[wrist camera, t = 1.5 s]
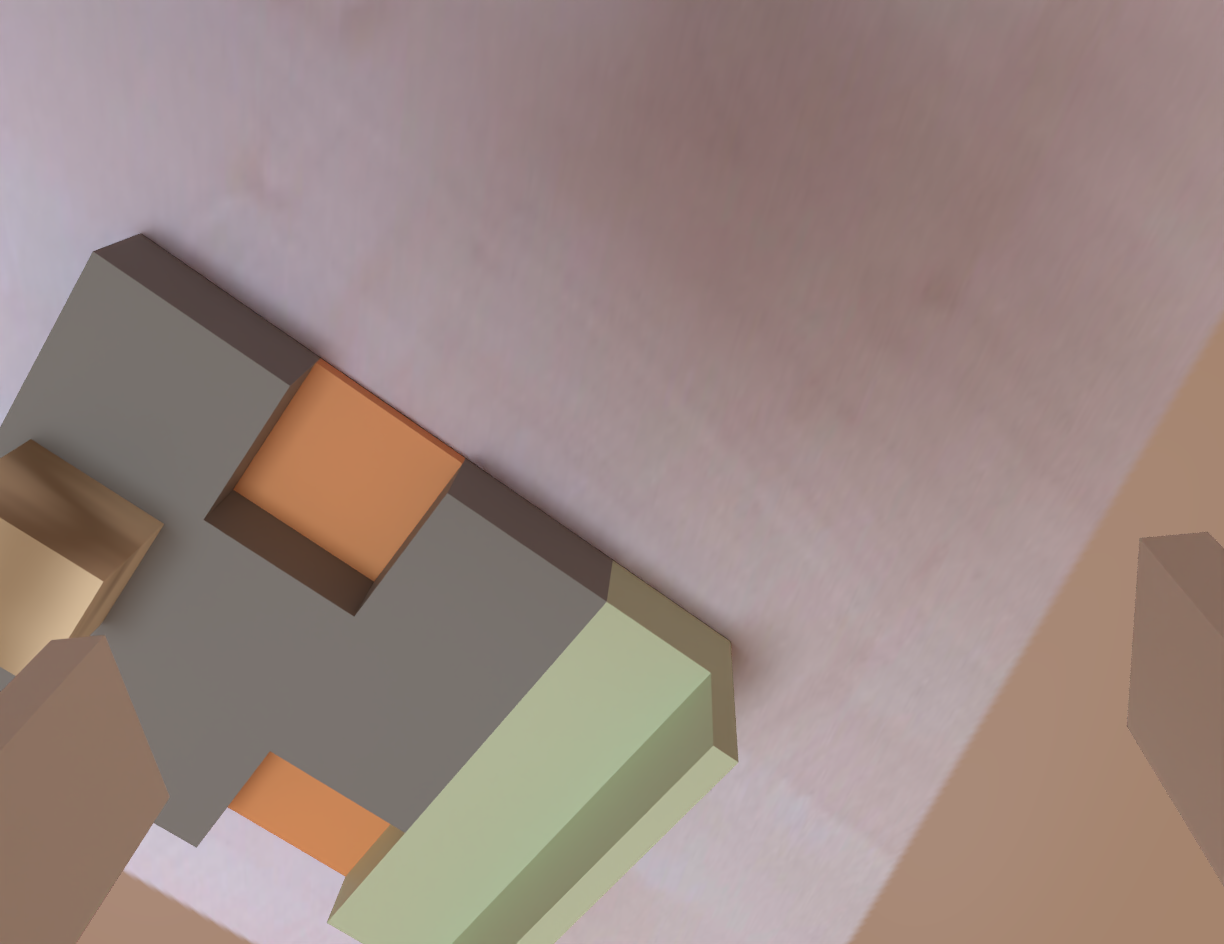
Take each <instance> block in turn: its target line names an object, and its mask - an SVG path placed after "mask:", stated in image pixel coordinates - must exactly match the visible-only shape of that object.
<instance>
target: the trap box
mask: <svg viewBox="0 0 1224 944" xmlns="http://www.w3.org/2000/svg"><path fill="white" fill-rule="evenodd" d="M30 439H32V440H33V441H35V442H36V443H38V444H39V445H41V446H43V447H44V448H46V449H47V450H49V451H50V452H52V453H53V454H55V455H57V456H58V457H60V458H61V459H63V460H64V461H66V462H68V463H69V464H71V465H72V466H74V467H75V468H77V469H79V470H80V471H82V472H83V473H85V474H86V475H88V476H90V477H91V478H93V479H94V480H96V481H97V482H99V483H101V484H102V485H104V486H105V487H107V488H108V489H110V490H112V491H113V492H115V493H116V494H118V495H119V496H121V497H122V498H124V499H126V500H127V501H129V502H130V503H132V504H133V505H135V506H137V507H138V508H140V509H141V510H143V511H144V512H146V513H148V514H149V515H151V516H152V517H154V518H155V519H157V520H159V521H160V522H162V523H163V524H164V525H163V527H162V528H161V530H160V532H159V533H158V535H157V536H156V538H155V539H154V541H153V543H152V544H151V546H150V547H149V549H148V551H147V552H146V554H145V555H144V557H143V559H142V560H141V562H140V563H139V565H138V566H137V568H136V570H135V571H134V573H133V574H132V576H131V578H130V579H129V581H128V582H127V584H126V586H125V587H124V589H123V590H122V592H121V593H120V595H119V597H118V598H117V600H116V601H115V603H114V605H113V606H112V608H111V609H110V611H109V613H108V614H107V616H106V617H105V619H104V620H103V622H102V624H101V625H100V626H99V627H98V628H97V629H96V630H95V631H94V632H93V633H92V634H91V635H90V636H99V635H105V637H106V639H107V642H108V644H109V647H110V649H111V652H112V654H113V657H114V659H115V662H116V664H117V667H118V669H119V672H120V674H121V677H122V679H123V682H124V684H125V687H126V689H127V692H128V694H129V697H130V699H131V702H132V704H133V707H134V709H135V712H136V714H137V716H138V719H139V721H140V724H141V726H142V729H143V731H144V734H145V736H146V739H147V741H148V744H149V746H150V749H151V751H152V754H153V756H154V759H155V761H156V764H157V766H158V769H159V771H160V774H161V776H162V779H163V781H164V784H165V786H166V789H167V791H168V794H169V796H170V797H169V799H168V801H167V802H166V804H165V805H164V807H163V808H162V810H161V812H160V813H159V815H158V816H157V818H156V819H155V821H154V823H155V824H157V825H158V826H160V827H162V828H164V829H165V830H167V831H169V832H170V833H172V834H174V835H176V836H177V837H179V838H181V839H183V840H184V841H186V842H188V843H190V844H191V845H193V846H195V847H196V848H197V846H198V845H199V844H200V842H201V841H202V840H203V838H204V837H205V836H206V834H207V833H208V832H209V830H210V829H211V828H212V827H213V825H214V824H215V823H216V821H217V820H218V819H219V817H220V816H221V815H222V813H223V812H224V811H225V809H226V808H227V807H228V808H230V809H232V810H234V811H235V812H237V813H239V814H240V815H242V816H244V817H245V818H247V819H249V820H250V821H252V822H254V823H256V824H257V825H259V826H261V827H262V828H264V829H266V830H267V831H269V832H271V833H273V834H274V835H276V836H278V837H279V838H281V839H283V840H284V841H286V842H288V843H290V844H291V845H293V846H295V847H296V848H298V849H300V850H301V851H303V852H305V853H307V854H308V855H310V856H312V857H313V858H315V859H317V860H318V861H320V862H322V863H323V864H325V865H327V866H329V867H330V868H332V869H334V870H335V871H337V872H339V873H340V874H342V875H344V876H346V877H345V879H344V882H343V884H342V887H341V889H340V892H339V894H338V896H337V899H336V901H335V904H334V906H333V909H332V911H331V914H330V916H329V919H328V921H327V923H328V924H330V925H332V926H333V927H335V928H337V929H338V930H340V931H342V932H344V933H345V934H347V935H349V936H351V937H352V938H354V939H356V940H358V941H359V942H361V943H363V944H554V943H555V942H556V941H557V940H558V939H559V938H560V937H561V936H562V935H563V934H564V933H565V932H566V931H567V930H568V929H569V928H570V927H571V926H572V925H573V924H574V923H575V922H576V921H577V920H578V919H579V918H580V917H581V916H583V915H584V914H585V913H586V912H587V911H588V910H589V909H590V908H591V907H592V906H593V905H594V904H595V903H596V902H597V901H598V900H599V899H600V898H601V897H602V896H603V895H604V894H605V893H606V892H607V891H608V890H609V889H610V888H611V887H612V886H613V885H614V884H615V883H616V882H617V881H618V880H619V879H620V878H621V877H622V876H623V875H624V874H625V873H626V872H627V871H628V870H629V869H630V868H631V867H632V866H633V865H634V864H635V863H636V862H637V861H638V860H639V859H641V858H642V857H643V856H644V855H645V854H646V853H647V852H648V851H649V850H650V849H651V848H652V847H653V846H654V845H655V844H656V843H657V842H658V841H659V840H660V839H661V838H662V837H663V836H664V835H665V834H666V833H667V832H668V831H669V830H670V829H671V828H672V827H673V826H674V825H675V824H676V823H677V822H678V821H679V820H680V819H681V818H682V817H683V816H684V815H685V814H686V813H687V812H688V811H689V810H690V809H691V808H692V807H693V806H694V805H695V804H696V803H698V802H699V801H700V800H701V799H702V798H703V797H704V796H705V795H706V794H707V793H708V792H709V791H710V790H711V789H712V788H713V787H714V786H715V785H716V784H717V783H718V782H719V781H720V780H721V779H722V778H723V777H724V776H725V775H726V774H727V773H728V772H729V771H730V770H731V769H732V768H733V767H734V766H735V765H736V764H737V763H738V749H737V734H736V718H735V703H734V687H733V672H732V656H731V642H730V641H729V640H727V639H726V638H724V637H723V636H721V635H720V634H719V633H717V632H716V631H714V630H713V629H711V628H710V627H708V626H707V625H706V624H704V623H703V622H701V621H700V620H698V619H697V618H695V617H694V616H693V615H691V614H690V613H688V612H687V611H685V610H684V609H682V608H681V607H680V606H678V605H677V604H675V603H674V602H672V601H671V600H669V599H668V598H667V597H665V596H664V595H662V594H661V593H659V592H658V591H656V590H655V589H654V588H652V587H651V586H649V585H648V584H646V583H645V582H643V581H642V580H641V579H639V578H638V577H636V576H635V575H633V574H632V573H630V572H629V571H628V570H626V569H625V568H623V567H622V566H620V565H619V564H617V563H616V562H615V561H613V560H612V559H610V558H609V557H607V556H606V555H604V554H603V553H602V552H600V551H599V550H597V549H596V548H594V547H593V546H591V545H590V544H589V543H587V542H586V541H584V540H583V539H581V538H580V537H578V536H577V535H576V534H574V533H573V532H571V531H570V530H568V529H567V528H565V527H564V526H563V525H561V524H560V523H558V522H557V521H555V520H554V519H552V518H551V517H549V516H548V515H547V514H545V513H544V512H542V511H541V510H539V509H538V508H536V507H535V506H534V505H532V504H531V503H529V502H528V501H526V500H525V499H523V498H522V497H521V496H519V495H518V494H516V493H515V492H513V491H512V490H510V489H509V488H508V487H506V486H505V485H503V484H502V483H500V482H499V481H497V480H496V479H495V478H493V477H492V476H490V475H489V474H487V473H486V472H484V471H483V470H482V469H480V468H479V467H477V466H476V465H474V464H473V463H471V462H470V461H469V460H467V459H466V458H464V457H463V456H461V455H460V454H458V453H457V452H456V451H454V450H453V449H451V448H450V447H448V446H447V445H445V444H444V443H443V442H441V441H440V440H438V439H437V438H435V437H434V436H432V435H431V434H430V433H428V432H427V431H425V430H424V429H422V428H421V427H419V426H418V425H417V424H415V423H414V422H412V421H411V420H409V419H408V418H406V417H405V416H404V415H402V414H401V413H399V412H398V411H396V410H395V409H393V408H392V407H390V406H389V405H388V404H386V403H385V402H383V401H382V400H380V399H379V398H377V397H376V396H375V395H373V394H372V393H370V392H369V391H367V390H366V389H364V388H363V387H362V386H360V385H359V384H357V383H356V382H354V381H353V380H351V379H350V378H349V377H347V376H346V375H344V374H343V373H341V372H340V371H338V370H337V369H336V368H334V367H333V366H331V365H330V364H328V363H327V362H325V361H324V360H323V359H321V358H320V357H318V356H317V355H315V354H314V353H312V352H311V351H310V350H308V349H307V348H305V347H304V346H302V345H301V344H299V343H298V342H297V341H295V340H294V339H292V338H291V337H289V336H288V335H286V334H285V333H284V332H282V331H281V330H279V329H278V328H276V327H275V326H273V325H272V324H271V323H269V322H268V321H266V320H265V319H263V318H262V317H260V316H259V315H258V314H256V313H255V312H253V311H252V310H250V309H249V308H247V307H246V306H245V305H243V304H242V303H240V302H239V301H237V300H236V299H234V298H233V297H232V296H230V295H229V294H227V293H226V292H224V291H223V290H221V289H220V288H218V287H217V286H216V285H214V284H213V283H211V282H210V281H208V280H207V279H205V278H204V277H203V276H201V275H200V274H198V273H197V272H195V271H194V270H192V269H191V268H190V267H188V266H187V265H185V264H184V263H182V262H181V261H179V260H178V259H177V258H175V257H174V256H172V255H171V254H169V253H168V252H166V251H165V250H164V249H162V248H161V247H159V246H158V245H156V244H155V243H153V242H152V241H151V240H149V239H148V238H146V237H145V236H143V235H142V234H138V235H135V236H132V237H130V238H127V239H124V240H122V241H119V242H117V243H114V244H111V245H109V246H106V247H103V248H101V249H98V250H96V251H93V252H92V254H91V256H90V258H89V260H88V262H87V264H86V266H85V268H84V269H83V271H82V273H81V275H80V277H79V279H78V281H77V283H76V285H75V287H74V288H73V290H72V292H71V294H70V296H69V298H68V300H67V302H66V304H65V306H64V307H63V309H62V311H61V313H60V315H59V317H58V319H57V321H56V323H55V325H54V326H53V328H52V330H51V332H50V334H49V336H48V338H47V340H46V342H45V343H44V345H43V347H42V349H41V351H40V353H39V355H38V357H37V359H36V361H35V362H34V364H33V366H32V368H31V370H30V372H29V374H28V376H27V378H26V380H25V381H24V383H23V385H22V387H21V389H20V391H19V393H18V395H17V397H16V398H15V400H14V402H13V404H12V406H11V408H10V410H9V412H8V414H7V416H6V417H5V419H4V421H3V423H2V425H1V427H0V458H2V457H3V456H5V455H6V454H8V453H9V452H11V451H13V450H14V449H16V448H17V447H19V446H21V445H22V444H24V443H25V442H27V441H29V440H30ZM15 677H16V676H15V675H13V674H12V673H10V672H8V671H7V670H5V669H3V668H1V667H0V692H1V691H2V690H3V689H4V688H5V687H6V686H7V685H8V684H9V683H10V682H11V681H12V680H13V679H14V678H15Z"/></svg>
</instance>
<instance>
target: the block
mask: <svg viewBox="0 0 1224 944" xmlns="http://www.w3.org/2000/svg"><path fill="white" fill-rule="evenodd" d="M163 525H164V524H163V523H162V522H160V521H159V520H157V519H155V518H154V517H152V516H151V515H149V514H148V513H146V512H144V511H143V510H141V509H140V508H138V507H137V506H135V505H133V504H132V503H130V502H129V501H127V500H126V499H124V498H122V497H121V496H119V495H118V494H116V493H115V492H113V491H112V490H110V489H108V488H107V487H105V486H104V485H102V484H101V483H99V482H97V481H96V480H94V479H93V478H91V477H90V476H88V475H86V474H85V473H83V472H82V471H80V470H79V469H77V468H75V467H74V466H72V465H71V464H69V463H68V462H66V461H64V460H63V459H61V458H60V457H58V456H57V455H55V454H53V453H52V452H50V451H49V450H47V449H46V448H44V447H43V446H41V445H39V444H38V443H36V442H35V441H33V440H32V439H30V440H29V441H27V442H25V443H24V444H22V445H21V446H19V447H17V448H16V449H14V450H13V451H11V452H9V453H8V454H6V455H5V456H3V457H2V458H0V667H1V668H3V669H5V670H7V671H8V672H10V673H12V674H13V675H15V676H17V675H18V674H19V673H20V672H21V671H22V670H23V668H24V667H25V666H26V665H27V664H28V663H29V662H30V661H31V660H32V659H33V658H34V657H35V656H36V655H37V654H38V653H39V652H40V651H41V650H42V649H43V648H44V647H45V646H46V645H47V644H48V643H49V642H50V641H51V640H57V639H67V638H78V637H89V636H90V635H91V634H92V633H93V632H94V631H95V630H96V629H97V628H98V627H99V626H100V625H101V624H102V622H103V620H104V619H105V617H106V616H107V614H108V613H109V611H110V609H111V608H112V606H113V605H114V603H115V601H116V600H117V598H118V597H119V595H120V593H121V592H122V590H123V589H124V587H125V586H126V584H127V582H128V581H129V579H130V578H131V576H132V574H133V573H134V571H135V570H136V568H137V566H138V565H139V563H140V562H141V560H142V559H143V557H144V555H145V554H146V552H147V551H148V549H149V547H150V546H151V544H152V543H153V541H154V539H155V538H156V536H157V535H158V533H159V532H160V530H161V528H162V527H163Z"/></svg>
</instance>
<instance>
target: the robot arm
mask: <svg viewBox="0 0 1224 944" xmlns="http://www.w3.org/2000/svg"><path fill="white" fill-rule="evenodd" d="M1133 629H1134V630H1133V643H1132V644H1133V645H1132V658H1131V673H1130V674H1131V675H1130V688H1129V703H1128V717H1127V727H1128V729H1129V730H1130V732H1131V734H1132V735H1133V737H1134V739H1135V740H1136V742H1137V744H1138V745H1139V747H1140V748H1141V750H1142V752H1143V754H1144V755H1145V757H1146V759H1147V760H1148V762H1149V764H1150V765H1151V767H1152V769H1153V770H1154V772H1155V773H1156V775H1157V777H1158V778H1159V780H1160V782H1161V783H1162V785H1163V787H1164V788H1165V790H1166V792H1167V793H1168V795H1169V797H1170V798H1171V800H1172V801H1173V803H1174V805H1175V807H1176V808H1177V810H1178V811H1179V813H1180V815H1181V816H1182V818H1183V820H1184V821H1185V823H1186V825H1187V826H1188V828H1189V830H1190V831H1191V833H1192V835H1193V836H1194V838H1195V840H1196V841H1197V843H1198V845H1199V846H1200V848H1201V849H1202V851H1203V853H1204V855H1205V856H1206V858H1207V860H1208V861H1209V863H1210V865H1211V866H1212V868H1213V869H1214V871H1215V873H1216V874H1217V876H1218V878H1219V879H1220V881H1221V883H1222V884H1223V886H1224V548H1223V547H1222V546H1221V545H1220V544H1219V543H1218V542H1217V541H1216V540H1215V539H1214V538H1213V537H1212V536H1211V535H1210V534H1209V533H1208V532H1200V533H1190V534H1179V535H1168V536H1158V537H1147V538H1140V540H1139V554H1138V571H1137V585H1136V599H1135V614H1134V628H1133ZM169 797H170V796H169V794H168V791H167V789H166V786H165V784H164V781H163V779H162V776H161V774H160V771H159V769H158V766H157V764H156V761H155V759H154V756H153V754H152V751H151V749H150V746H149V744H148V741H147V739H146V736H145V734H144V731H143V729H142V726H141V724H140V721H139V719H138V716H137V714H136V712H135V709H134V707H133V704H132V702H131V699H130V697H129V694H128V692H127V689H126V687H125V684H124V682H123V679H122V677H121V674H120V672H119V669H118V667H117V664H116V662H115V659H114V657H113V654H112V652H111V649H110V647H109V644H108V642H107V639H106V637H105V635H99V636H89V637H78V638H67V639H57V640H51V641H50V642H49V643H48V644H47V645H46V646H45V647H44V648H43V649H42V650H41V651H40V652H39V653H38V654H37V655H36V656H35V657H34V658H33V659H32V660H31V661H30V662H29V663H28V664H27V665H26V666H25V667H24V668H23V670H22V671H21V672H20V673H19V674H18V675H17V676H16V677H15V678H14V679H13V680H12V681H11V682H10V683H9V684H8V685H7V686H6V687H5V688H4V689H3V690H2V691H1V692H0V944H76V943H77V942H78V940H79V939H80V937H81V935H82V934H83V932H84V931H85V929H86V928H87V926H88V924H89V923H90V921H91V920H92V918H93V917H94V915H95V913H96V912H97V910H98V909H99V907H100V906H101V904H102V902H103V901H104V899H105V898H106V896H107V895H108V893H109V892H110V890H111V888H112V886H113V885H114V884H115V882H116V881H117V879H118V877H119V876H120V874H121V873H122V871H123V870H124V868H125V866H126V865H127V863H128V862H129V860H130V859H131V857H132V855H133V854H134V852H135V851H136V849H137V848H138V846H139V845H140V843H141V841H142V840H143V838H144V837H145V835H146V834H147V832H148V830H149V829H150V827H151V826H152V824H153V823H154V821H155V819H156V818H157V816H158V815H159V813H160V812H161V810H162V808H163V807H164V805H165V804H166V802H167V801H168V799H169Z"/></svg>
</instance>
